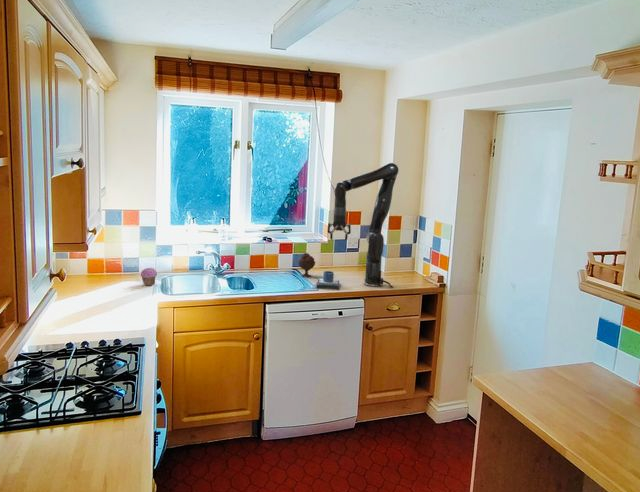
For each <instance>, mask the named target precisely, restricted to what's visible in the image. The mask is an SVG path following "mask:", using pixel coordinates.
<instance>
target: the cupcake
mask: <svg viewBox="0 0 640 492" xmlns="http://www.w3.org/2000/svg"><path fill="white" fill-rule="evenodd" d="M157 275H158V271H157V270H156V269H155V268H153V267H147V268H144V269H142V270H141V272H140V278H141V279H142V283H143V284H144V286H148V287H149V286H153V285H155V283H156V277H157Z"/></svg>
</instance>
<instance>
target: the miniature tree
mask: <svg viewBox="0 0 640 492" xmlns="http://www.w3.org/2000/svg"><path fill="white" fill-rule="evenodd" d="M297 263H298V265H299V268H301V269H302V270H304V273H303V274H302V275H301V277H303V278H311V274H309V271H310V270H312V269H313V268H314V267H315V265H316V261H315V258H314V257H313V256H311V255H310V253H308V252H304V253H302V255H301V257H300V259H299V260H298V261H297Z"/></svg>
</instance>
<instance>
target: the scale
mask: <svg viewBox="0 0 640 492" xmlns="http://www.w3.org/2000/svg"><path fill="white" fill-rule="evenodd" d="M316 289H322V290H339V289H340V280H339V279H333V281H332V282H325V281H324V280H323V278H319V279H317V283H316Z"/></svg>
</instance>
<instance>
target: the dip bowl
mask: <svg viewBox="0 0 640 492" xmlns="http://www.w3.org/2000/svg"><path fill="white" fill-rule="evenodd" d="M322 273H323V275H322V276H323V277H322V279H323V280H324V281H325V282H332V281H333V279H334V278H335V277H334V275H335V272H334V271H332V270H325V271H323V272H322Z"/></svg>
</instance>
